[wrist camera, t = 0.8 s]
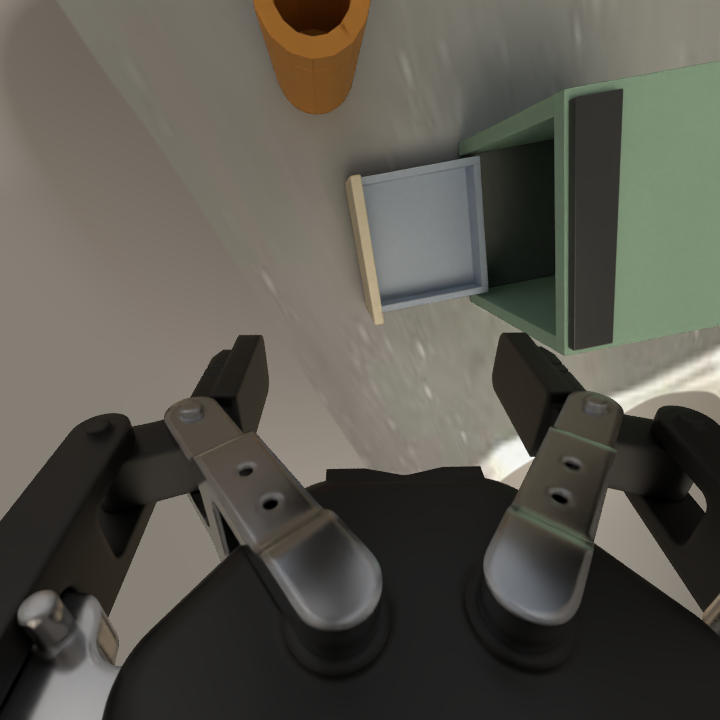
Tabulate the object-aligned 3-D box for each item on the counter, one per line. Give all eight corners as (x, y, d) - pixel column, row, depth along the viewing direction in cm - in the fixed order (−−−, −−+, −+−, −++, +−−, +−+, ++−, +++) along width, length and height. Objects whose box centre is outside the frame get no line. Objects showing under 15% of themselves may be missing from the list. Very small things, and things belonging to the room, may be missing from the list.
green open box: (457, 143, 35) (571, 85, 19) (581, 120, 36) (795, 44, 20) (470, 301, 40) (570, 359, 24) (579, 280, 40) (749, 324, 24)
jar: (268, 32, 32) (235, -82, 19) (345, 19, 32) (360, -103, 20) (286, 120, 34) (267, 67, 21) (358, 107, 34) (379, 47, 22)
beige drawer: (344, 182, 35) (349, 175, 29) (468, 159, 36) (498, 148, 29) (366, 308, 39) (375, 325, 33) (477, 286, 39) (506, 300, 33)
